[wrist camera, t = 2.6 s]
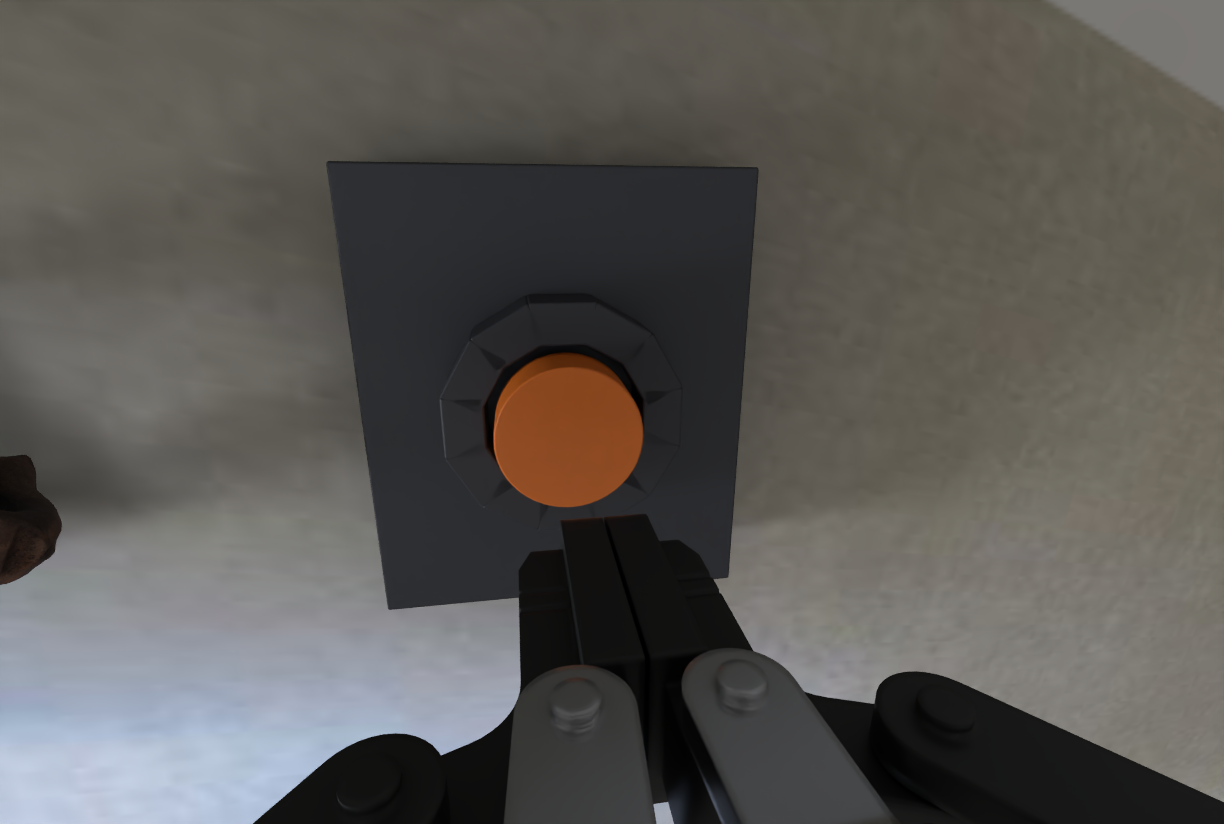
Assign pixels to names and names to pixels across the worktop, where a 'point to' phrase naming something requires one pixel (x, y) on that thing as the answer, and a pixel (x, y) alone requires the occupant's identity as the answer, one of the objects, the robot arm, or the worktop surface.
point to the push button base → (539, 348)
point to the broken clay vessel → (24, 520)
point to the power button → (566, 430)
